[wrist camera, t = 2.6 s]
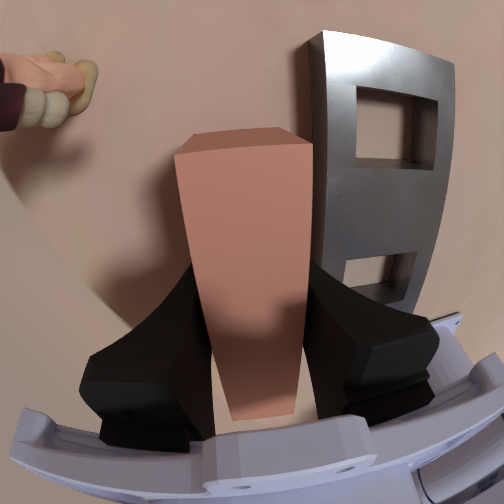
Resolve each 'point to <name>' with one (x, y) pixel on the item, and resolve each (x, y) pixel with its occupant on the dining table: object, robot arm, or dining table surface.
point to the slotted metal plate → (378, 163)
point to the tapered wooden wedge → (251, 258)
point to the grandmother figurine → (43, 89)
